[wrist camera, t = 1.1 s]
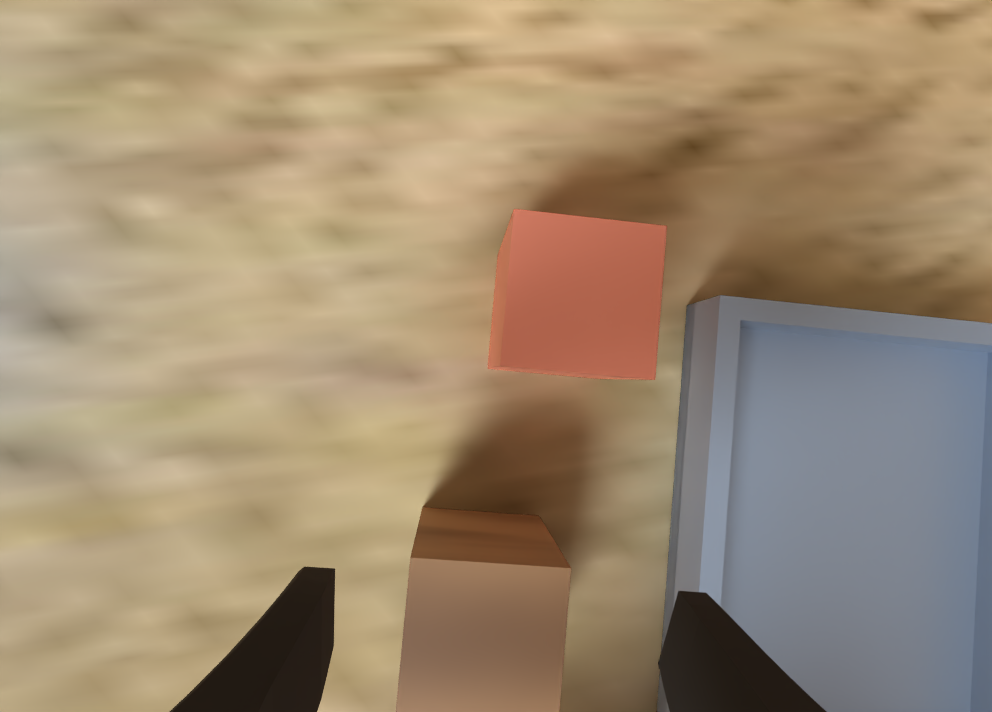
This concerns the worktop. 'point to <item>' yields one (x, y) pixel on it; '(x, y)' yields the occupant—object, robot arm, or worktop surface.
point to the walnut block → (483, 615)
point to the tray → (841, 497)
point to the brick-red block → (578, 297)
